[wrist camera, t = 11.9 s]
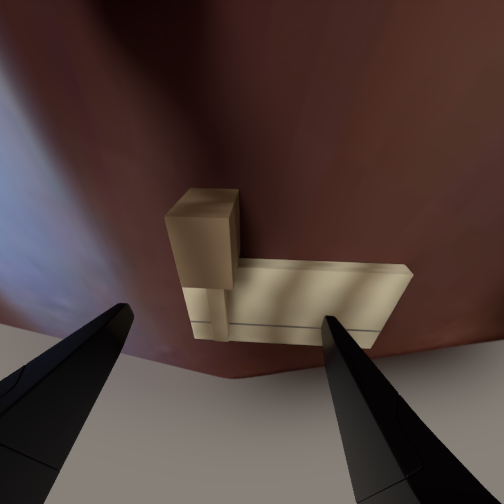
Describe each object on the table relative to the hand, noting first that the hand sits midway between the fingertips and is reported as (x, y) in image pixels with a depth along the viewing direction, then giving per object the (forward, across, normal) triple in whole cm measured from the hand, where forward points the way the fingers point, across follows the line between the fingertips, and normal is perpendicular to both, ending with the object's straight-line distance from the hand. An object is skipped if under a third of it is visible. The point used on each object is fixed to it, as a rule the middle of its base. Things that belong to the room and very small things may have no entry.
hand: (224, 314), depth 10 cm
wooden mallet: (+11, +3, +6) cm, 13 cm away
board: (+11, -4, +11) cm, 16 cm away
